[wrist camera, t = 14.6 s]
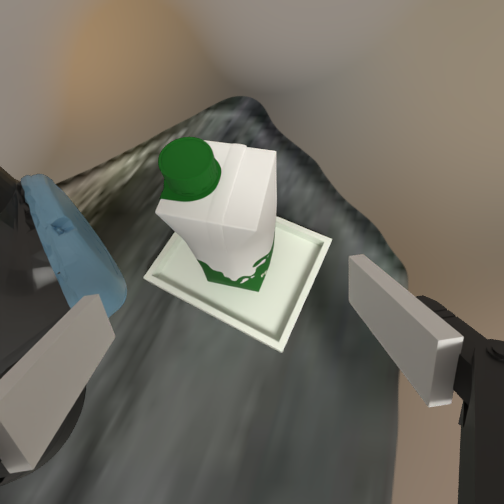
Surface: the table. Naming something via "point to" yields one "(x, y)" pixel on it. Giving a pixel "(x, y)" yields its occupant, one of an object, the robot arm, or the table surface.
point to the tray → (241, 300)
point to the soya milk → (221, 207)
